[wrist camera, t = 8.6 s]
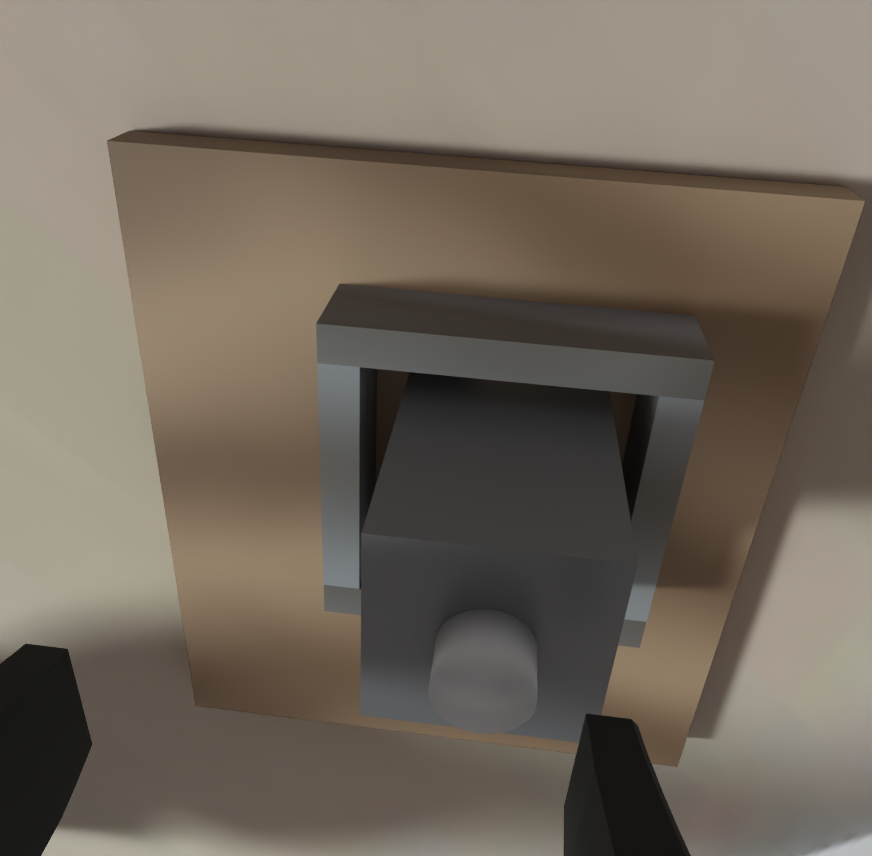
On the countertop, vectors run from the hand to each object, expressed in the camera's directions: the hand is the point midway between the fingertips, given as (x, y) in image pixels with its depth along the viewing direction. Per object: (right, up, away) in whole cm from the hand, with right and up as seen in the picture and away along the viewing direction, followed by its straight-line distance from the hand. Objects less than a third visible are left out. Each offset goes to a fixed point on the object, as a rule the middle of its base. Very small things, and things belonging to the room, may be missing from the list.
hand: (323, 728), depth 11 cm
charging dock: (+2, +3, +9) cm, 9 cm away
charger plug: (+3, +4, +7) cm, 8 cm away
